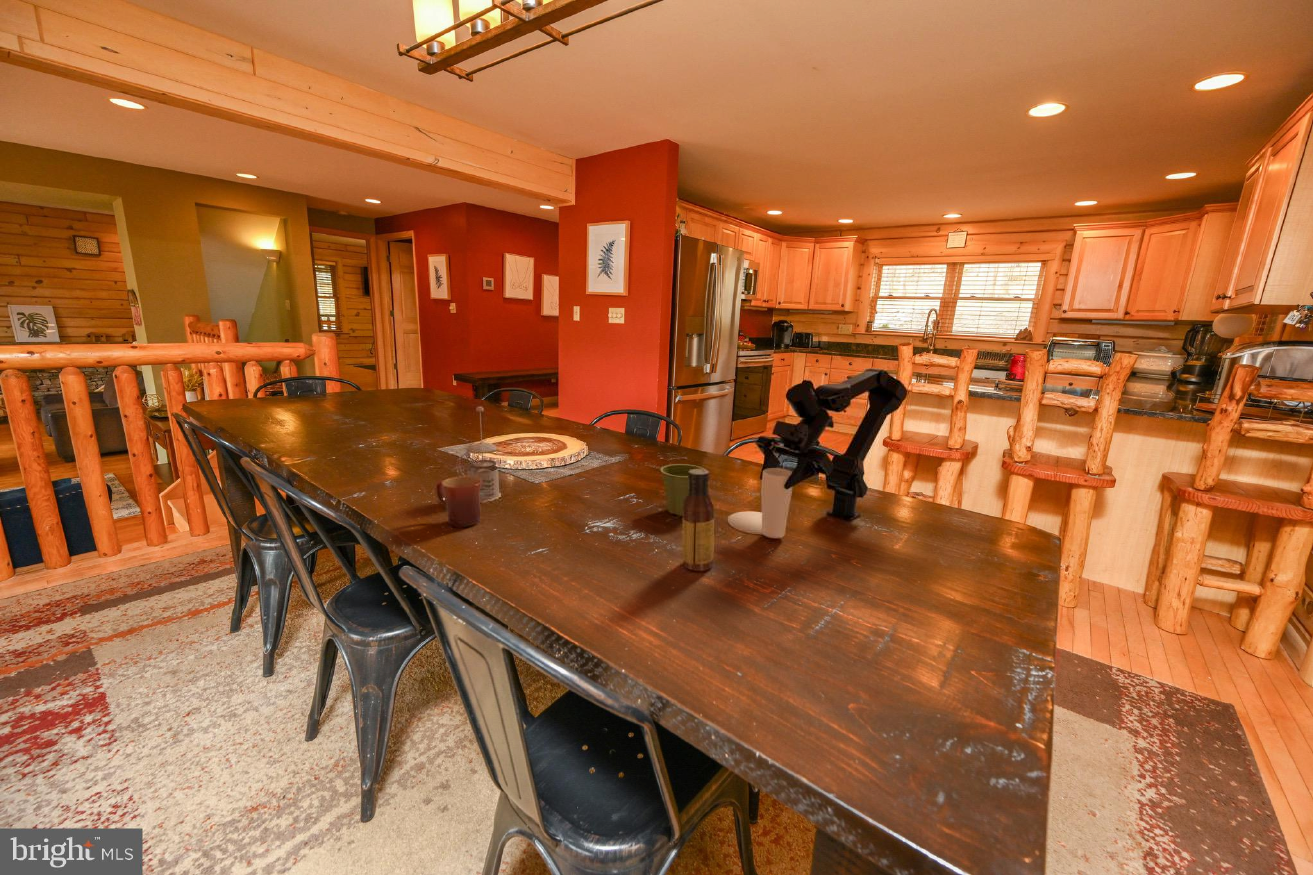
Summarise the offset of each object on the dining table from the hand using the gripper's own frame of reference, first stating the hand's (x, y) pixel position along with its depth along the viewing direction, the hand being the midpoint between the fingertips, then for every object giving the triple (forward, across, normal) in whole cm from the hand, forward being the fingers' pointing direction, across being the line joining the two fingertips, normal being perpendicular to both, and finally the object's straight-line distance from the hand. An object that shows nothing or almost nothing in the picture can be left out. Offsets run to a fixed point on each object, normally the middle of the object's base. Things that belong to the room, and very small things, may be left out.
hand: (772, 483), depth 111 cm
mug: (+49, -46, -31) cm, 74 cm away
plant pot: (+14, -24, +5) cm, 28 cm away
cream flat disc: (+6, -8, +13) cm, 16 cm away
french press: (+42, -60, -24) cm, 78 cm away
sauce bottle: (+25, +1, -7) cm, 26 cm away
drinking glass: (+8, 0, +10) cm, 13 cm away
